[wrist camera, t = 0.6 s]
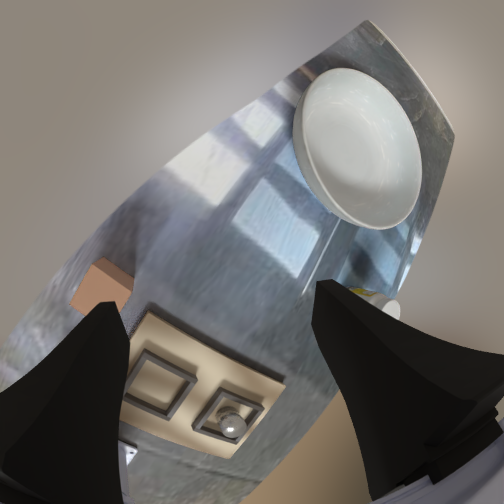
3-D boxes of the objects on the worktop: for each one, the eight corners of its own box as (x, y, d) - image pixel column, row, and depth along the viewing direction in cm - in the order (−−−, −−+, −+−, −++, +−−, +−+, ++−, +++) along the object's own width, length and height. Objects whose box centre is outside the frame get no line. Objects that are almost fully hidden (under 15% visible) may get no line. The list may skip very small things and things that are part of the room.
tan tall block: (115, 309, 27) (108, 331, 20) (84, 288, 26) (69, 304, 19) (134, 278, 28) (132, 292, 21) (103, 256, 26) (92, 263, 20)
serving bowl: (404, 191, 42) (437, 188, 35) (319, 258, 36) (355, 263, 29) (351, 76, 37) (380, 60, 30) (242, 109, 31) (267, 84, 24)
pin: (229, 426, 32) (237, 440, 29) (210, 420, 31) (217, 433, 28) (242, 410, 32) (251, 423, 29) (223, 402, 31) (231, 416, 28)
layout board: (226, 454, 33) (231, 464, 31) (93, 401, 26) (91, 411, 24) (282, 382, 35) (290, 390, 33) (148, 309, 28) (148, 315, 26)
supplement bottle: (342, 325, 38) (384, 343, 30) (328, 302, 37) (372, 317, 29) (363, 303, 39) (406, 315, 31) (351, 278, 38) (395, 288, 30)
